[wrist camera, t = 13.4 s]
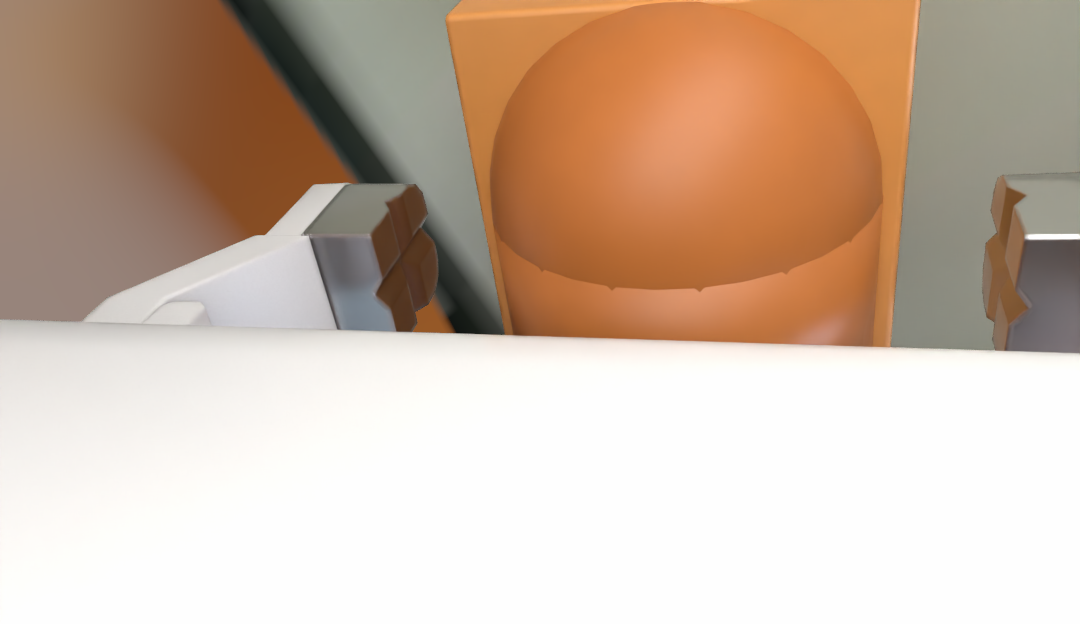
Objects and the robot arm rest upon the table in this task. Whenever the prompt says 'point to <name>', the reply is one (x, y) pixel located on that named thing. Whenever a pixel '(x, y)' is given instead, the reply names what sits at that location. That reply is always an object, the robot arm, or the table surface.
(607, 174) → the muffin in paper box
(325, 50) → the table surface
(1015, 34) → the table surface
